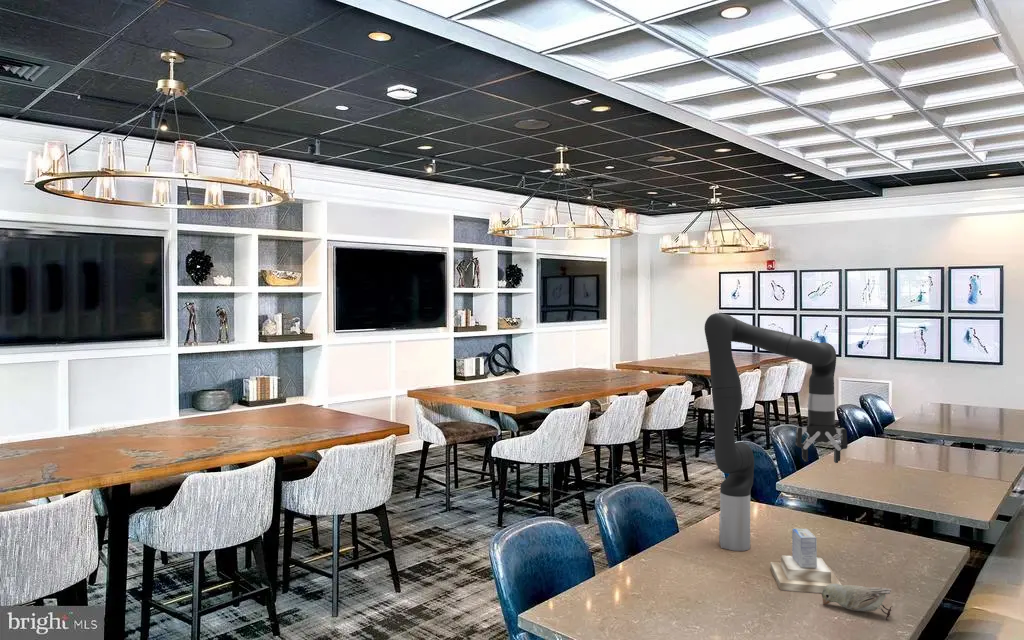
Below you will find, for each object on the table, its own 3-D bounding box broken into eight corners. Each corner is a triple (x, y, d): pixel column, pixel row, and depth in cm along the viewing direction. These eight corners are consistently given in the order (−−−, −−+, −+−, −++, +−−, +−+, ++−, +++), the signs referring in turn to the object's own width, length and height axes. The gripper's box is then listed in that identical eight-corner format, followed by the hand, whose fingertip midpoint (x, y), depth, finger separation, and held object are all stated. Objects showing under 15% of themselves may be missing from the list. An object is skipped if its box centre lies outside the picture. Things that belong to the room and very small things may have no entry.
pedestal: (780, 590, 189) (780, 571, 189) (770, 568, 205) (770, 551, 205) (843, 594, 186) (843, 576, 186) (828, 572, 202) (828, 555, 202)
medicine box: (817, 568, 191) (817, 537, 191) (800, 568, 192) (800, 536, 192) (807, 558, 199) (808, 528, 199) (791, 558, 200) (791, 528, 200)
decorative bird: (823, 600, 183) (823, 572, 183) (893, 615, 174) (893, 585, 174) (820, 608, 178) (820, 579, 178) (891, 623, 170) (891, 592, 169)
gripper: (798, 409, 209) (798, 463, 209) (850, 410, 206) (849, 465, 206) (793, 406, 216) (793, 458, 216) (843, 407, 213) (842, 460, 213)
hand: (821, 461), depth 211 cm, fingers open, 8 cm apart
